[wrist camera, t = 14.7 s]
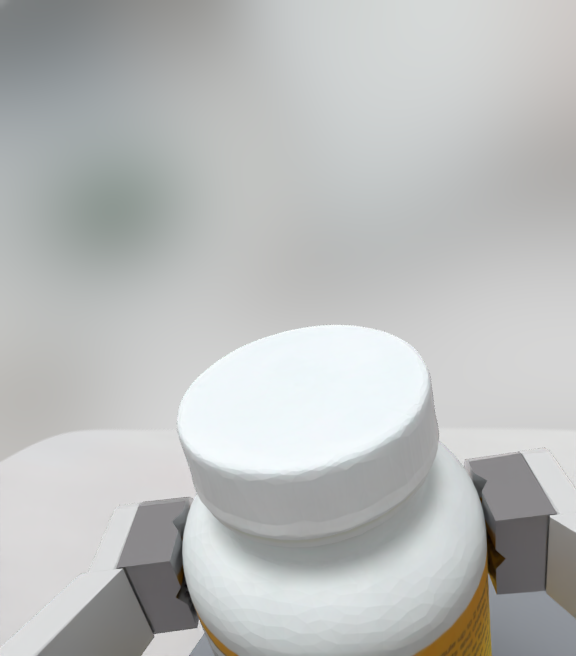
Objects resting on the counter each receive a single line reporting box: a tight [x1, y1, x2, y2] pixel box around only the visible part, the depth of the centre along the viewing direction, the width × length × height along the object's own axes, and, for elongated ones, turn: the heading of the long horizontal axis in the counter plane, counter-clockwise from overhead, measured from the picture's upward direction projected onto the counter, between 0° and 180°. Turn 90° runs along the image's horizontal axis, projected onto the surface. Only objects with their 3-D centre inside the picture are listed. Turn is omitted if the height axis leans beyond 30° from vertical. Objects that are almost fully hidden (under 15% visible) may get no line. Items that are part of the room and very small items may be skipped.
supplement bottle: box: [177, 325, 492, 656], centre depth 10 cm, size 5×5×10 cm
